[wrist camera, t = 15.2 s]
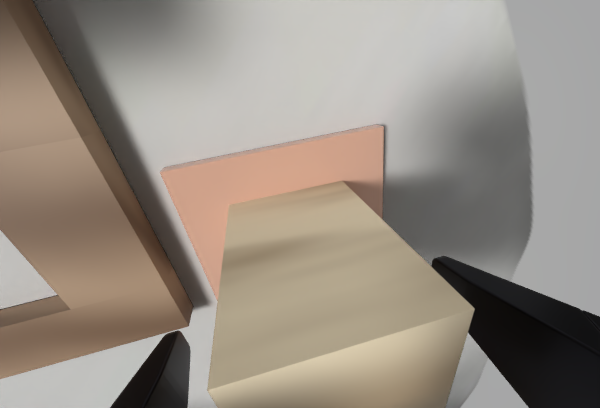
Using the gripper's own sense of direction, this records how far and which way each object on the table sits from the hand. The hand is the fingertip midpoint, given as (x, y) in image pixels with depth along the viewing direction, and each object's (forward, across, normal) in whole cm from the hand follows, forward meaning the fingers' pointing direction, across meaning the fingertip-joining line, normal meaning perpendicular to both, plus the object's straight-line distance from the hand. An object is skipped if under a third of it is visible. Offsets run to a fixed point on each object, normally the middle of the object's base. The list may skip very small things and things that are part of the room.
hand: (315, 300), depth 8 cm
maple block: (+4, 0, 0) cm, 4 cm away
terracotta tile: (+4, 0, 0) cm, 4 cm away
